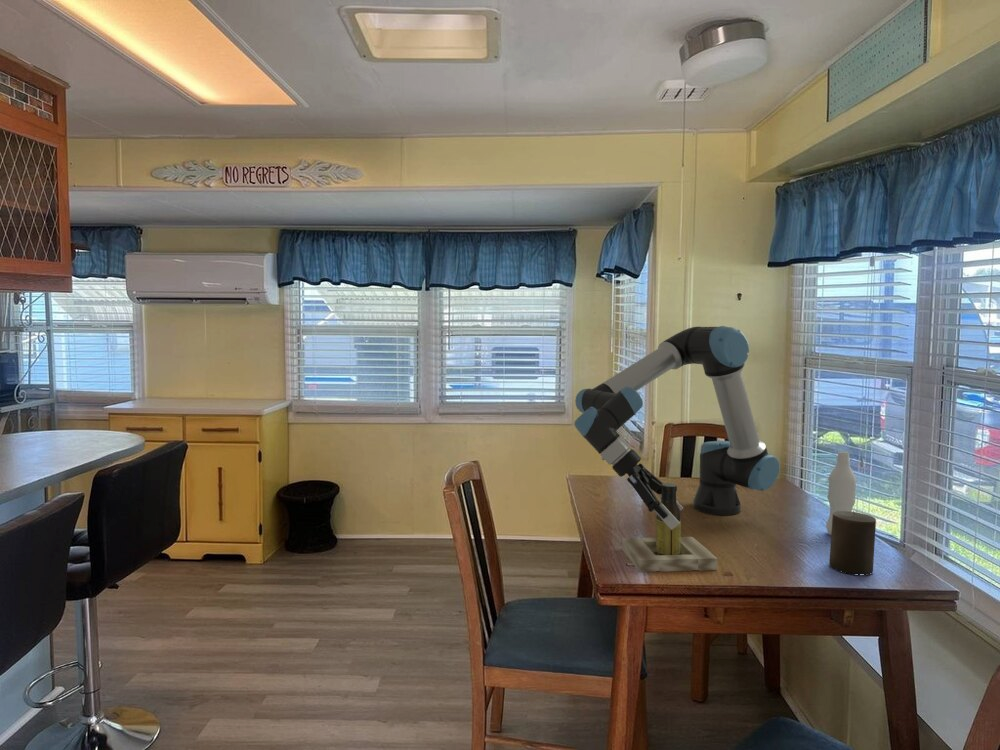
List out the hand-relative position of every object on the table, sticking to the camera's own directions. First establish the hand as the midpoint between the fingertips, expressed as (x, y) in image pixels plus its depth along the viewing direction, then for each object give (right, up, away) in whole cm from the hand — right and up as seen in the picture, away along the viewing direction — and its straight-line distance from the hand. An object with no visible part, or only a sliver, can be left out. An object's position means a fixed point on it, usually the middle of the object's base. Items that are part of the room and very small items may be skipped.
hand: (677, 518), depth 159 cm
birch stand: (-2, -11, +2) cm, 11 cm away
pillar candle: (+43, -12, -3) cm, 45 cm away
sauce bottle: (-2, -11, +2) cm, 12 cm away
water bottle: (+54, -10, +21) cm, 59 cm away
